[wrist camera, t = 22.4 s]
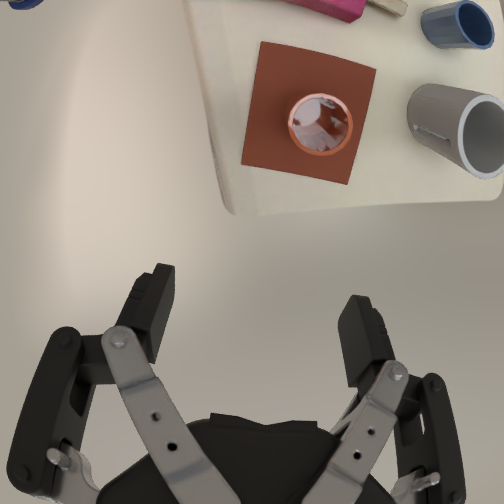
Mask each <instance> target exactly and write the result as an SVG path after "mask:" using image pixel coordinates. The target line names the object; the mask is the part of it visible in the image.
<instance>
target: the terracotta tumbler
mask: <svg viewBox="0 0 504 504" xmlns="http://www.w3.org/2000/svg"><path fill="white" fill-rule="evenodd" d="M284 120H285V124H286V126H287V129H288V132H289V134H290V137H291V138H292V140H293V141H294V142H295V144H296V145H297V146H298V147H299V148H300V149H302V150H303V151H305V152H306V153H308V154H312V155H316V156H326V155H332V154H334V153H336V152H337V151H339V150H341V149H343V148H344V146H345V145H346V144H347V142H348V141H349V140H350V138H351V134H352V130H353V122H352V116H351V113H350V112H349V110H348V108H347V107H346V105H345V104H344V103H343V102H342V101H340V100H339V99H338V98H336V97H335V96H332V95H328V94H325V93H321V92H317V91H312V90H304V91H300V92H297V93H296V94H294V95H293V96H291V97H290V98H289V100H288V101H287V103H286V105H285V108H284Z"/></svg>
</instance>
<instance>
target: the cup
mask: <svg viewBox="0 0 504 504" xmlns="http://www.w3.org/2000/svg"><path fill="white" fill-rule="evenodd" d="M407 119H408V125H409V127H410V130H411V132H412V133H413V135H414V137H415V138H416V139H417V140H418V141H419V142H420V143H422V144H423V145H425V146H427V147H428V148H430V149H432V150H434V151H435V152H437V153H439V154H440V155H442V156H444V157H446V158H447V159H449V160H450V161H452V162H454V163H455V164H457V165H458V166H460V167H462V168H463V169H465V170H466V171H468V172H469V173H471V174H472V175H474V176H475V177H477V178H480V179H490V178H494V177H496V176H498V175H499V174H500V173H502V171H503V170H504V104H503V102H502V101H500V100H499V99H498V98H496V97H494V96H491V95H488V94H484V93H480V92H475V91H471V90H466V89H461V88H455V87H450V86H444V85H437V84H426V85H423V86H421V87H419V88H418V89H417V90H416V91H415V92H414V93H413V95H412V96H411V98H410V100H409V103H408V108H407ZM418 125H419V126H421V127H423V128H426V129H428V130H430V131H432V132H435V133H437V134H439V135H441V136H443V137H445V138H448V139H447V140H446V141H445V140H443V139H441V138H439V137H437V136H435V135H433V134H431V133H428V132H426V131H424V130H422V129H419V128H418Z"/></svg>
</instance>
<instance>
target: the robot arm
mask: <svg viewBox="0 0 504 504" xmlns="http://www.w3.org/2000/svg"><path fill="white" fill-rule="evenodd" d="M0 1H10V2H18V3H21V2H25V1H27V0H0ZM174 293H175V267H174V266H172V265H166V264H161V263H157V265H156V267H155V269H154V272H153V274H150V273H143V274H142V275H141V276H140V277H139V278H137V279H136V281H135V283H134V285H133V287H132V290H131V292H130V294H129V297H128V298H127V300H126V302H125V304H124V306H123V309H122V311H121V313H120V315H119V317H118V320H117V322H116V324H115V326H113V327H111V328H109V329H108V330H106V331H105V332H104V334H101V335H86V336H81V335H80V333H79V332H78V331H77V330H76V329H74V328H73V327H61V328H59V329H57V330H56V331H54V332H53V334H52V335H51V337H50V339H49V341H48V343H47V346H46V348H45V350H44V353H43V355H42V357H41V360H40V362H39V365H38V367H37V369H36V372H35V374H34V377H33V379H32V382H31V385H30V388H29V390H28V393H27V396H26V399H25V402H24V404H23V408H22V410H21V414H20V417H19V420H18V423H17V427H16V430H15V434H14V437H13V441H12V445H11V449H10V453H9V458H8V461H7V467H6V469H7V475H8V478H9V480H10V482H11V483H12V485H13V486H14V487H15V488H16V489H18V490H19V491H21V492H24V493H27V494H30V495H32V496H33V497H37V498H40V499H44V500H48V501H54V502H56V503H58V504H464V503H465V500H466V487H465V478H464V470H463V463H462V457H461V451H460V445H459V440H458V435H457V430H456V425H455V421H454V417H453V412H452V408H451V404H450V400H449V396H448V392H447V389H446V385H445V382H444V380H443V379H442V378H441V377H440V376H439V375H437V374H435V373H428V374H427V375H426V376H425V377H423V378H420V377H416V376H413V375H410V374H408V371H407V369H406V368H405V366H404V365H403V364H401V363H400V362H398V361H396V359H395V355H394V352H393V349H392V346H391V342H390V339H389V336H388V335H387V330H386V328H385V324H384V321H383V318H382V316H381V315H380V313H379V312H378V311H377V310H376V309H375V308H372V305H371V302H370V299H369V297H367V296H360V295H352V296H351V297H350V299H349V301H348V302H347V305H346V306H345V308H344V310H343V311H342V313H341V315H340V317H339V320H338V332H339V336H340V342H341V347H342V353H343V358H344V364H345V369H346V375H347V381H348V387H357V388H358V392H357V393H356V394H355V396H354V398H353V399H352V401H351V403H350V404H349V406H348V407H347V409H346V410H345V412H344V413H343V415H342V417H341V418H340V419H339V421H338V422H337V424H336V425H335V426H334V427H333V428H332V429H331V430H330V432H328V431H326V430H323V429H321V428H318V427H317V421H295V420H292V421H287V422H282V423H276V424H271V425H263V424H260V423H256V422H253V421H250V420H247V419H244V418H241V417H238V416H232V415H224V414H217V413H211V414H210V419H202V420H197V421H194V422H191V423H188V424H185V422H184V421H183V419H182V417H181V416H180V414H179V412H178V411H177V409H176V407H175V405H174V404H173V402H172V400H171V398H170V397H169V395H168V393H167V391H166V389H165V388H164V386H163V384H162V382H161V381H160V379H159V378H158V377H156V376H155V374H154V372H153V370H152V368H151V366H150V364H149V363H152V364H155V361H156V358H157V354H158V351H159V347H160V344H161V341H162V337H163V334H164V331H165V327H166V324H167V321H168V317H169V314H170V311H171V308H172V305H173V301H174ZM97 384H117V387H118V389H119V392H120V395H121V397H122V399H123V402H124V404H125V406H126V408H127V410H128V413H129V415H130V417H131V419H132V421H133V423H134V425H135V427H136V429H137V431H138V433H139V435H140V437H141V439H142V441H143V443H144V445H145V447H146V449H147V450H148V452H149V453H148V454H147V455H145V456H144V457H143V458H141V459H140V460H139V461H138V462H136V463H135V464H133V465H132V466H131V467H129V468H128V469H127V470H125V471H124V472H123V473H121V474H120V475H119V476H117V477H116V478H114V479H113V480H111V481H110V482H109V483H107V484H106V485H105V486H104V487H103V488H102V489H101V490H100V489H99V488H98V487H97V486H96V485H95V484H94V482H93V480H92V476H91V465H90V463H89V461H88V459H87V458H86V457H85V456H84V455H83V454H81V453H80V448H81V443H82V438H83V434H84V430H85V426H86V421H87V418H88V414H89V410H90V406H91V402H92V399H93V395H94V391H95V388H96V385H97ZM420 414H422V416H423V422H424V427H425V431H424V435H423V432H422V426H421V420H420ZM392 429H394V437H395V446H396V455H397V466H398V480H397V482H396V483H395V485H394V488H393V489H392V490H391V495H390V494H389V493H388V492H387V491H386V490H385V489H384V488H383V487H382V486H381V485H380V484H379V483H378V481H377V480H376V479H374V477H373V476H372V475H371V474H370V471H371V469H372V468H373V466H374V464H375V462H376V460H377V459H378V457H379V455H380V453H381V451H382V449H383V447H384V446H385V444H386V441H387V440H388V438H389V436H390V434H391V431H392Z"/></svg>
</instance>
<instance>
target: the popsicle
mask: <svg viewBox="0 0 504 504" xmlns="http://www.w3.org/2000/svg"><path fill="white" fill-rule="evenodd" d="M283 1H287V2H291V3H294V4H297V5H301V6H304V7H307V8H310V9H313V10H316V11H319V12H322V13H325V14H328V15H330V16H333V17H336V18H338V19H341V20H343V21H346V22H348V23H351V22H353V21H355V20H356V19H358V18H360V17H361V15H362V13H363V10H364V7H365V4H366V1H369V2H371V3H373V4H376V5H378V6H380V7H382V8H384V9H386V10H388V11H390V12H392V13H394V14H395V15H397V16H399V17H402V16H404V15H405V13H406V10H407V6H408V5H407V4H406V3H405V2H403V1H402V0H283Z"/></svg>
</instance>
